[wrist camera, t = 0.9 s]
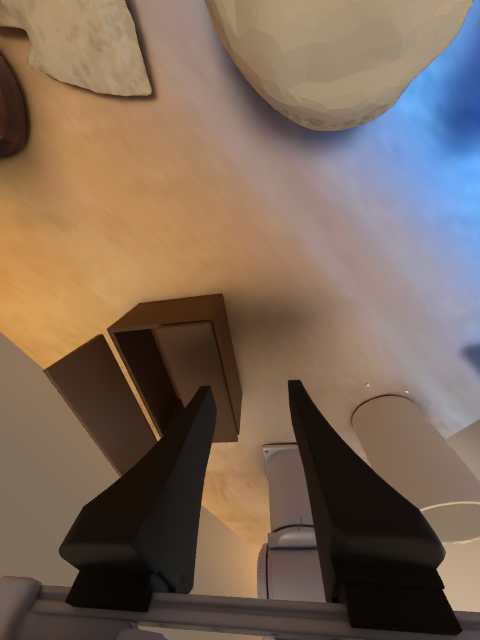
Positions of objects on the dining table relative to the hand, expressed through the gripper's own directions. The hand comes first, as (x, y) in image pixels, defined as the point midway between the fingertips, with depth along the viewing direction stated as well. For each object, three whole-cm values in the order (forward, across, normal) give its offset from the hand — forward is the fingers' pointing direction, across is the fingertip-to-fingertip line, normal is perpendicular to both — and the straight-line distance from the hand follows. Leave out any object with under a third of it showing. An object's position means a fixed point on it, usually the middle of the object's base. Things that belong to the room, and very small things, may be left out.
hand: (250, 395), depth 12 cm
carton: (+10, +7, +4) cm, 13 cm away
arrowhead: (+10, +11, -25) cm, 29 cm away
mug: (+11, -16, +18) cm, 26 cm away
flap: (+2, +12, +4) cm, 12 cm away
